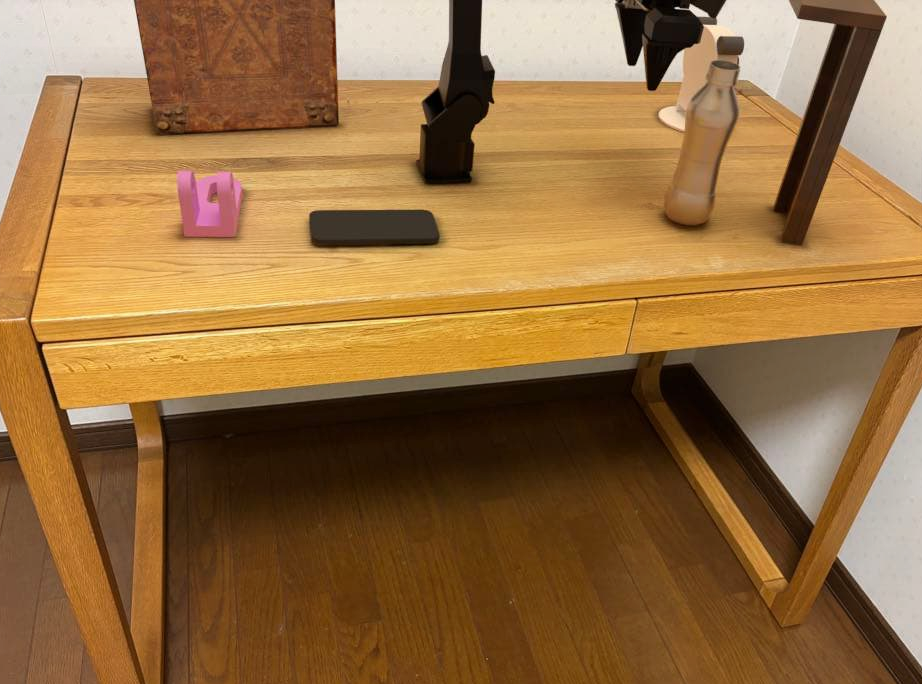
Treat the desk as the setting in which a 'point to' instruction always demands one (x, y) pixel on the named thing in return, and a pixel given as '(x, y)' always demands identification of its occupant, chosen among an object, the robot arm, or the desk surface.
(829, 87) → the dark wooden stand
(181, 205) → the bracket
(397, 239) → the phone
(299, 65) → the book
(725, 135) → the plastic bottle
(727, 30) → the beige rounded piece
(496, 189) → the desk surface
